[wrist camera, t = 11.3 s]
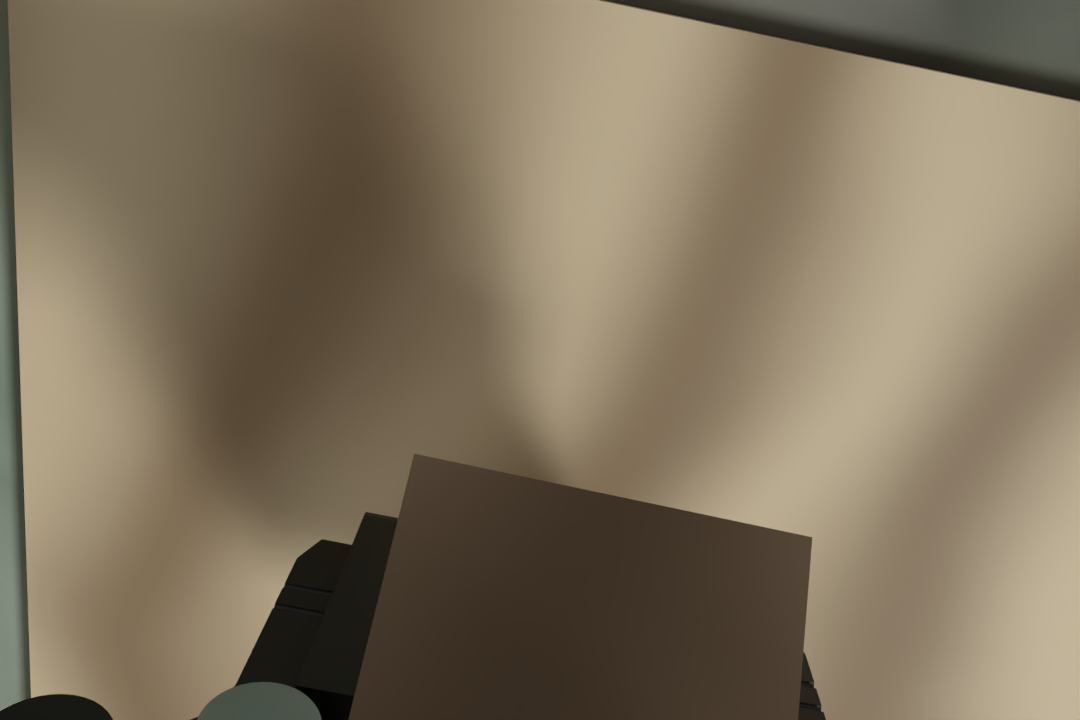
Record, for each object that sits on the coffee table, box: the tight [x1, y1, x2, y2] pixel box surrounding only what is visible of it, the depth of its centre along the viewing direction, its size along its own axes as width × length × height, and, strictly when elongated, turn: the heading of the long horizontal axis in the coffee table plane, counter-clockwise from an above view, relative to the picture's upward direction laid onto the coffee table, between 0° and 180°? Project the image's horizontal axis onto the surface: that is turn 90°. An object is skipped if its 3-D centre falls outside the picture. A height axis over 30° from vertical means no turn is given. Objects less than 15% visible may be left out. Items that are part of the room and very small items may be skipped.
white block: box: [348, 454, 812, 720], centre depth 13 cm, size 4×4×9 cm
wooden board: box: [8, 0, 1080, 720], centre depth 19 cm, size 22×20×1 cm
